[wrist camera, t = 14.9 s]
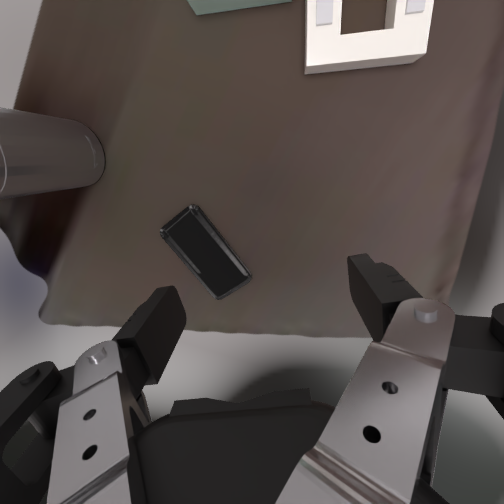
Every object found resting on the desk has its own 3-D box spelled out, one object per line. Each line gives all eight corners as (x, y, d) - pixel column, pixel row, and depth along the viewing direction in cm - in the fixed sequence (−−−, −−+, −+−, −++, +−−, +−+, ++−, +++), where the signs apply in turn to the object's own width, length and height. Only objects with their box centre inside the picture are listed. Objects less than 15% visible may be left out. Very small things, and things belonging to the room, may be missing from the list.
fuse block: (304, 74, 30) (306, 65, 27) (305, -37, 27) (308, -63, 24) (412, 63, 29) (427, 51, 26) (428, -57, 25) (449, -88, 22)
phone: (193, 202, 37) (253, 279, 40) (195, 201, 38) (254, 276, 41) (156, 231, 39) (216, 302, 43) (159, 229, 40) (218, 298, 44)
